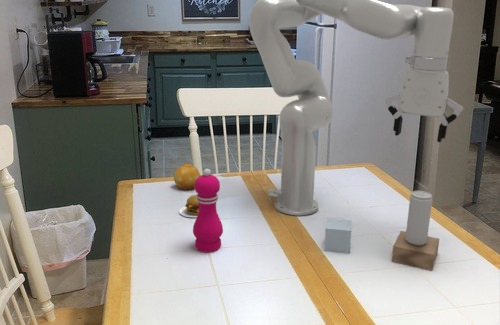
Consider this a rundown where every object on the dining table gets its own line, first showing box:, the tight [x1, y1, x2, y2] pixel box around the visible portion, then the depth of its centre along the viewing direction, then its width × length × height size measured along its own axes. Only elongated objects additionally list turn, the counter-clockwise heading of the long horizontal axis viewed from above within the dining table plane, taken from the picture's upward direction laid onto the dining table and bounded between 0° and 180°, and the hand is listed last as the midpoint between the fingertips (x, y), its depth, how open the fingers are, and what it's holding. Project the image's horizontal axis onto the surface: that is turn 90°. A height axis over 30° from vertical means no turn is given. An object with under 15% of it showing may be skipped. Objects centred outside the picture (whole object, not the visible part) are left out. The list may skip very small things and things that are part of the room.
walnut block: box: [391, 230, 440, 272], centre depth 120 cm, size 9×9×4 cm
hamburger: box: [179, 194, 199, 219], centre depth 144 cm, size 12×12×6 cm
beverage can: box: [405, 190, 433, 246], centre depth 118 cm, size 5×5×12 cm
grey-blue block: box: [323, 217, 352, 254], centre depth 125 cm, size 6×6×6 cm
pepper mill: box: [192, 168, 224, 253], centre depth 122 cm, size 7×7×20 cm
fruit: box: [173, 162, 201, 190], centre depth 162 cm, size 8×8×8 cm
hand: (418, 137), depth 120 cm, fingers open, 9 cm apart
